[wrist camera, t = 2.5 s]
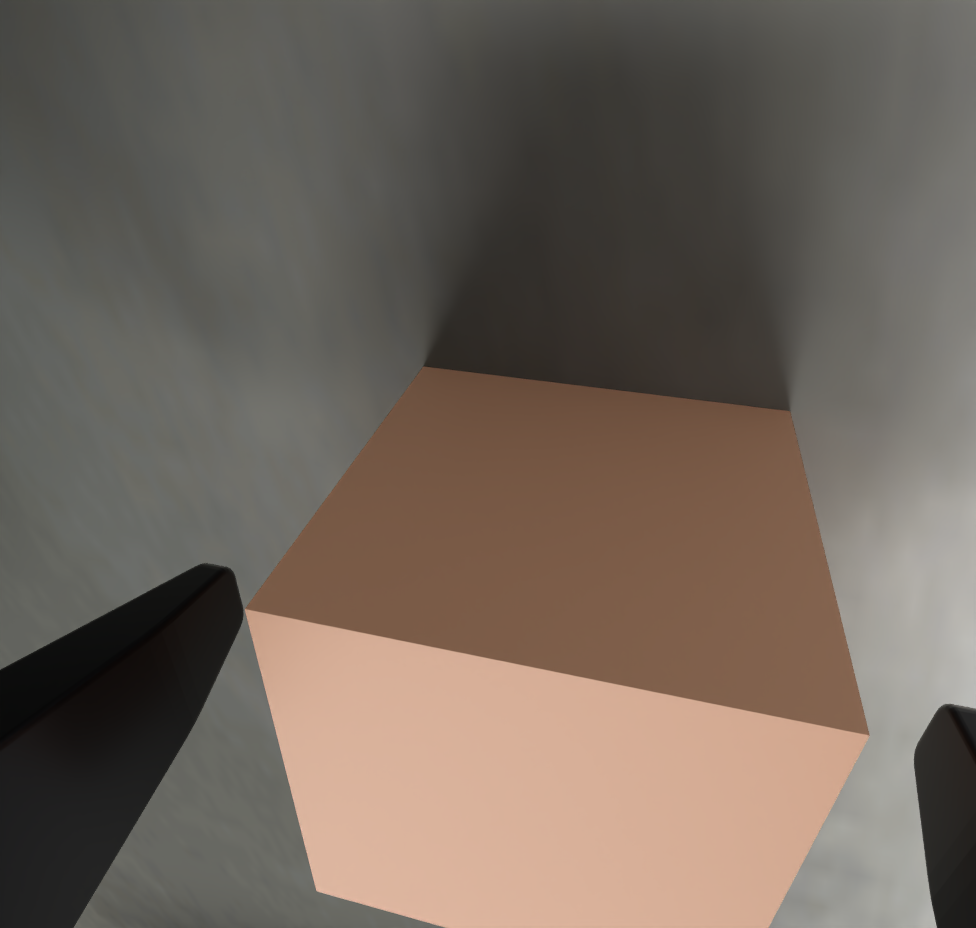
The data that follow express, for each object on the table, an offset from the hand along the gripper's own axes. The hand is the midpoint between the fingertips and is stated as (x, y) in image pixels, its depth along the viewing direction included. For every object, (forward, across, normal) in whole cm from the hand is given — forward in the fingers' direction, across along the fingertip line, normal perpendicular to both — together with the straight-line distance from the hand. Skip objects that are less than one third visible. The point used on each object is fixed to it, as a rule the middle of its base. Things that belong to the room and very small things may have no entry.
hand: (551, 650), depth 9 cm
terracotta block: (+3, 0, 0) cm, 3 cm away
